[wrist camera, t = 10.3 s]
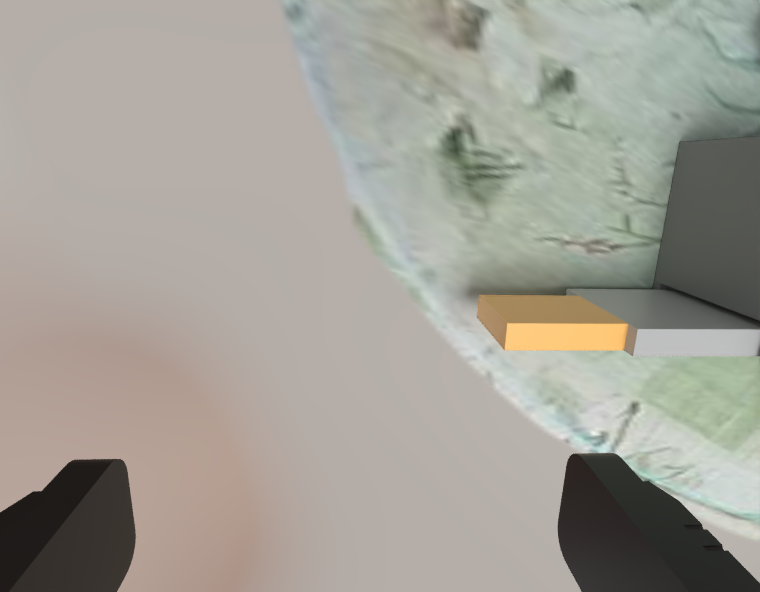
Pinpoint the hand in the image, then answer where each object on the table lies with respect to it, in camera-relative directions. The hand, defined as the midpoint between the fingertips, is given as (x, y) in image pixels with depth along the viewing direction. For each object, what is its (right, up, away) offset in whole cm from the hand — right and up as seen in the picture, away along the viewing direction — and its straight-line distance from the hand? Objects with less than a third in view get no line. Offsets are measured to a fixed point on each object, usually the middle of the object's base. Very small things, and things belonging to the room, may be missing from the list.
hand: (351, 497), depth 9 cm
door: (+16, +3, +26) cm, 31 cm away
